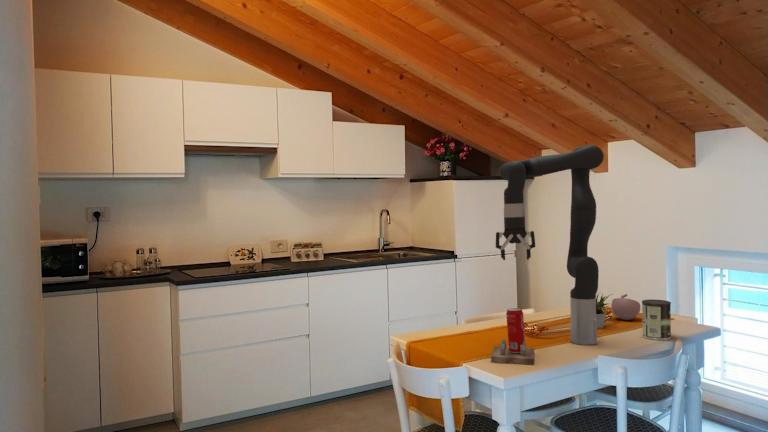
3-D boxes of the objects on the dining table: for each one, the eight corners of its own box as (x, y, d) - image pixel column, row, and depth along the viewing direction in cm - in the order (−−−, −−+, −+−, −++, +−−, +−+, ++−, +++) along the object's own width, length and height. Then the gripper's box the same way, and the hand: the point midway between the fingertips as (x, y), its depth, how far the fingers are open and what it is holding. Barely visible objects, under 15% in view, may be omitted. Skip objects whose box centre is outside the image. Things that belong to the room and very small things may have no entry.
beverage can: (526, 354, 195) (525, 310, 195) (506, 353, 196) (506, 310, 196) (525, 350, 201) (525, 307, 201) (506, 349, 202) (506, 307, 202)
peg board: (534, 353, 203) (534, 338, 203) (533, 364, 190) (533, 348, 190) (494, 351, 207) (494, 336, 207) (491, 362, 194) (491, 346, 194)
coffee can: (666, 334, 227) (666, 299, 227) (674, 340, 217) (674, 304, 217) (639, 333, 230) (639, 299, 229) (645, 340, 219) (645, 303, 219)
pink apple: (642, 318, 257) (642, 293, 257) (638, 323, 247) (638, 297, 247) (614, 316, 264) (613, 291, 263) (609, 321, 254) (608, 295, 253)
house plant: (570, 327, 243) (569, 289, 243) (585, 321, 253) (584, 285, 253) (602, 332, 233) (602, 292, 233) (617, 326, 243) (616, 288, 242)
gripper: (534, 214, 211) (535, 258, 212) (495, 216, 215) (496, 258, 215) (534, 215, 204) (535, 260, 204) (494, 216, 207) (495, 261, 208)
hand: (515, 259), depth 210 cm, fingers open, 8 cm apart
